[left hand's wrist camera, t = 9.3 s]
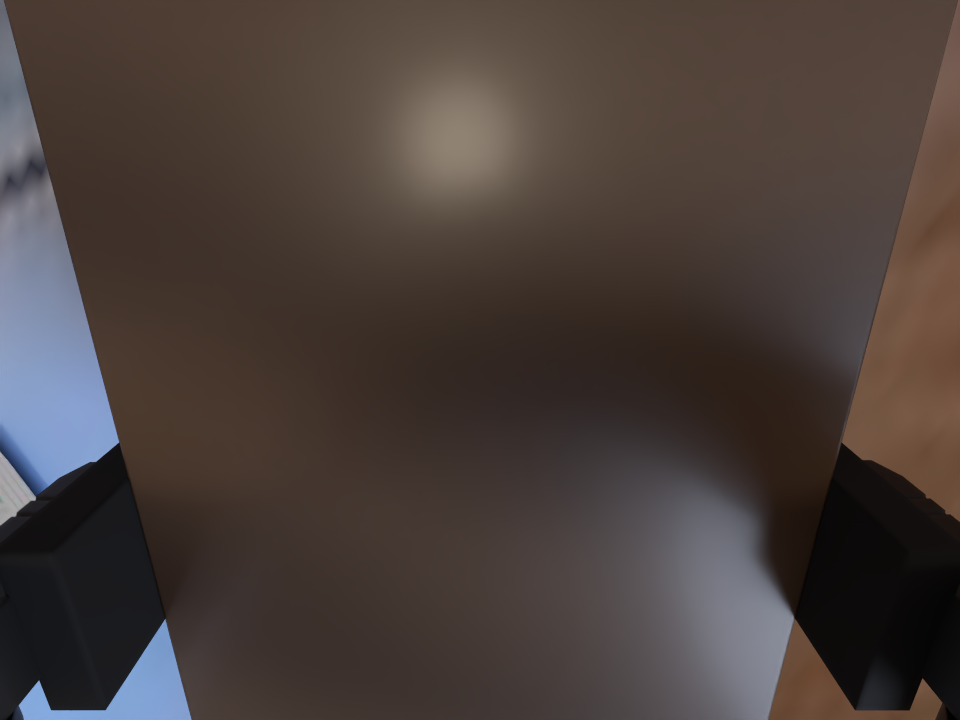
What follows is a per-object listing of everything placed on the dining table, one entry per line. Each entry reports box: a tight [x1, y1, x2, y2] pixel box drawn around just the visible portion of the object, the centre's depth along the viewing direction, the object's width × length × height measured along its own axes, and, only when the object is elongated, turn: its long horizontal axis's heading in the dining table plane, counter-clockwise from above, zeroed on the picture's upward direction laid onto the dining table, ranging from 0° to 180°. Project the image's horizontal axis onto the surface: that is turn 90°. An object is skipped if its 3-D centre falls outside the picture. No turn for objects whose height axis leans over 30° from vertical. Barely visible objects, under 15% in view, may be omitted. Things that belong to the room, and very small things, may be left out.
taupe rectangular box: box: [4, 0, 958, 720], centre depth 12 cm, size 18×10×9 cm, turn 0°
